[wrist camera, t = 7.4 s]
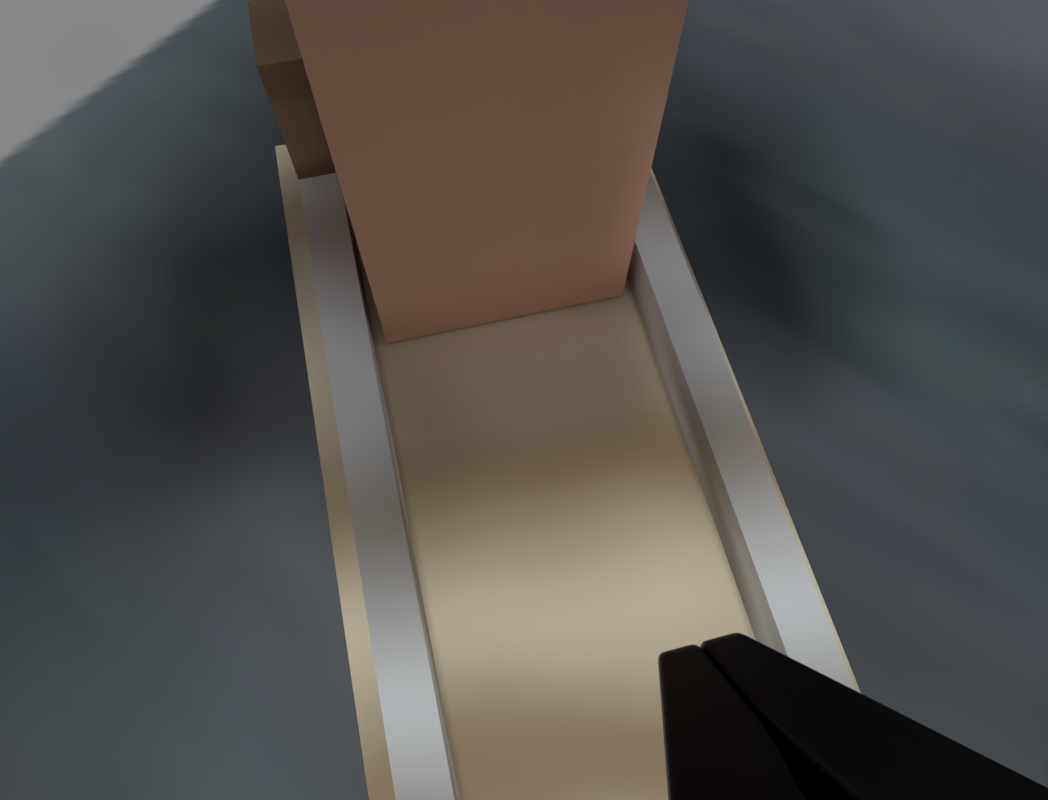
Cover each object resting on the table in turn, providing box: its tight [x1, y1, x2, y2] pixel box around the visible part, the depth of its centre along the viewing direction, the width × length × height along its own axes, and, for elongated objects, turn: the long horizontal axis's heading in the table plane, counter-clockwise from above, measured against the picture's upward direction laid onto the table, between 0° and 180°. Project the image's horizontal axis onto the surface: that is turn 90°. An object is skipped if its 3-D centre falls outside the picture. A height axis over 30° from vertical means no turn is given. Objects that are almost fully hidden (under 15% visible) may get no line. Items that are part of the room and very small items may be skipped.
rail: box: [248, 0, 861, 800], centre depth 16 cm, size 23×10×6 cm, turn 14°
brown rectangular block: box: [285, 0, 689, 343], centre depth 16 cm, size 4×6×10 cm, turn 104°
